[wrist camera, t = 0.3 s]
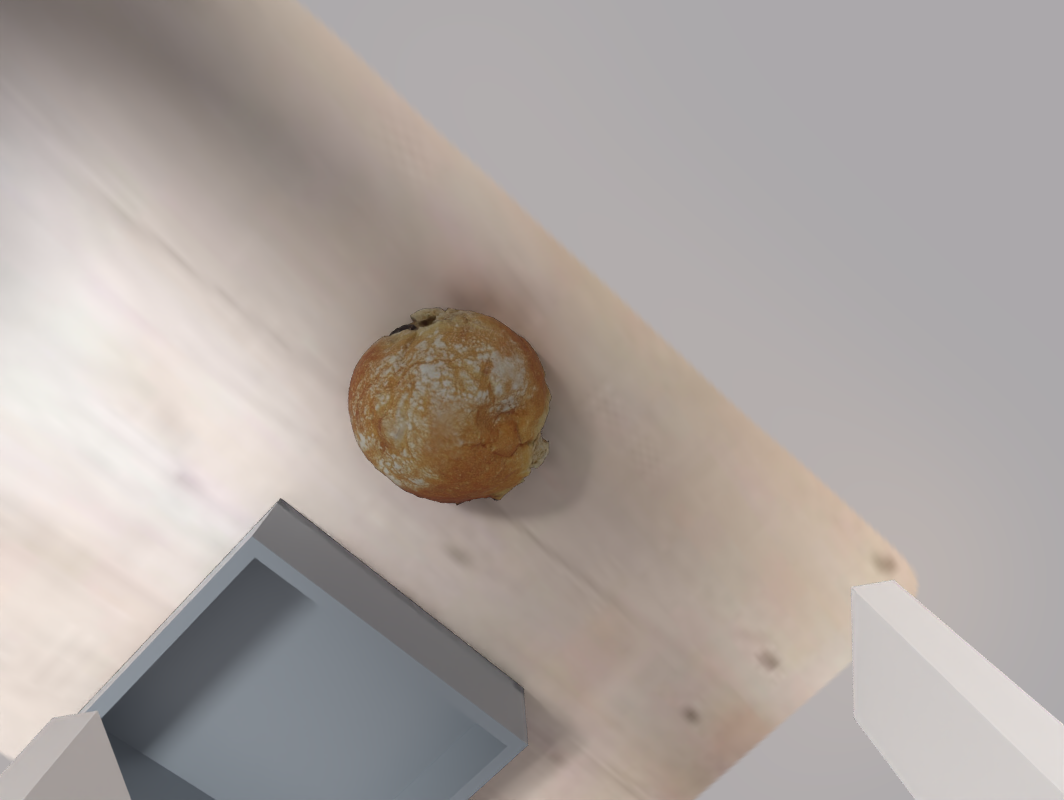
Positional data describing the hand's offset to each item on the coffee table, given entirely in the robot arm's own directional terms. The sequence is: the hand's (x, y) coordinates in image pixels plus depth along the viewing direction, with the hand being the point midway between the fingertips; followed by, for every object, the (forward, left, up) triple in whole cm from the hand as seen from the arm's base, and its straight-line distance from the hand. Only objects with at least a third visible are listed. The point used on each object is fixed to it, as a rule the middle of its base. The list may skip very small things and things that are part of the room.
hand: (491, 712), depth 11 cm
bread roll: (-1, -2, -24) cm, 24 cm away
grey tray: (+5, -22, -24) cm, 33 cm away
